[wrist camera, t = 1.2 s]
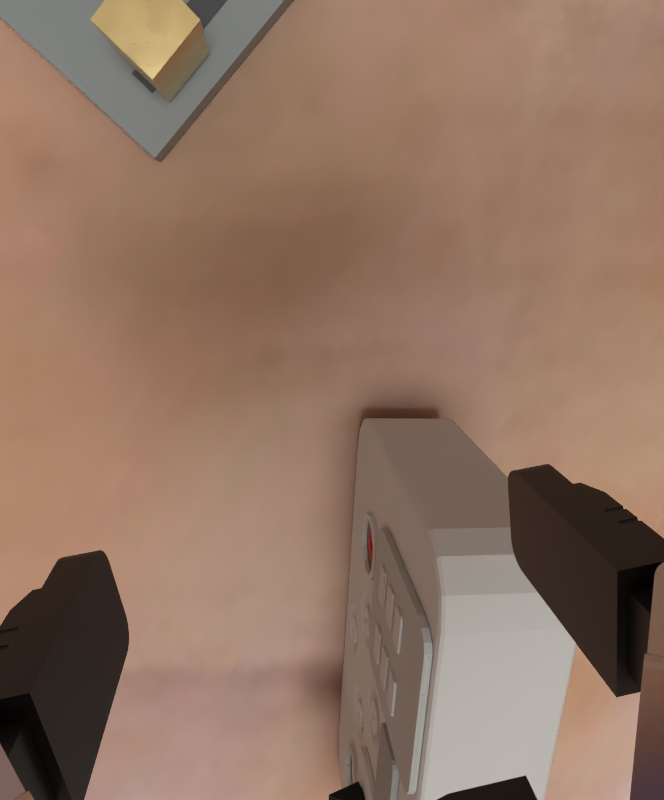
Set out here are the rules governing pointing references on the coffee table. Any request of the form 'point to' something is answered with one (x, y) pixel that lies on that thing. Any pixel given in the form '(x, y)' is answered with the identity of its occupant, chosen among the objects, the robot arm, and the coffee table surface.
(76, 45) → the control board
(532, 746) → the rounded white slab
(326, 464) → the coffee table surface
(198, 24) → the gold rectangular block
